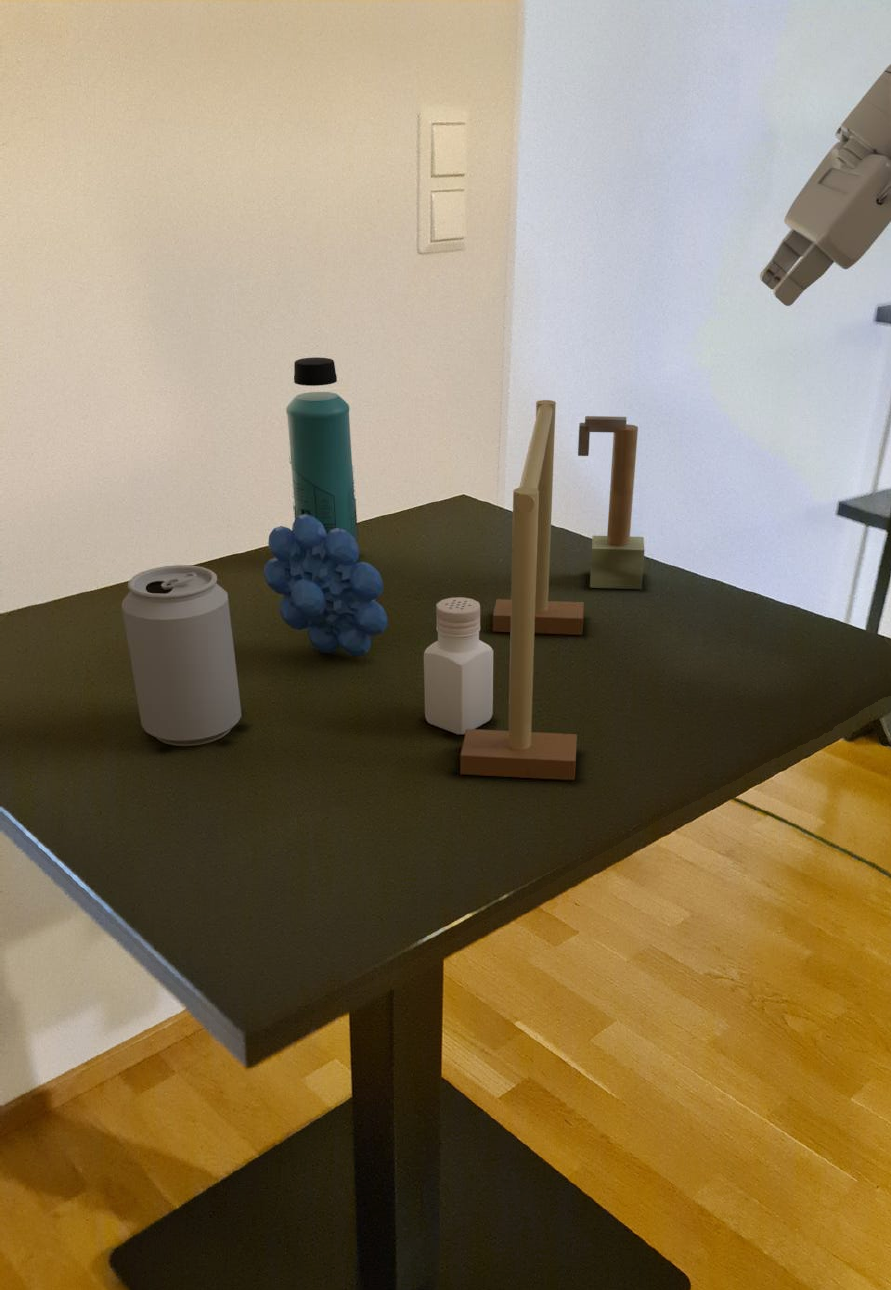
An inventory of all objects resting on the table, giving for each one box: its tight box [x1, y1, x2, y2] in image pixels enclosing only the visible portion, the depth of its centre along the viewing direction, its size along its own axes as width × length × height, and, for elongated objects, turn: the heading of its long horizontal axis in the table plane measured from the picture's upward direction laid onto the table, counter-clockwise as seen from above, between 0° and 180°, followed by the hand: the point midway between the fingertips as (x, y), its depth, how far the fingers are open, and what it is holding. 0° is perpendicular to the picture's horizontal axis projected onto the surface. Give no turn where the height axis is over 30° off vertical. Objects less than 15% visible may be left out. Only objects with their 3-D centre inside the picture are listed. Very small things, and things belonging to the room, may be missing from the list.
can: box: [121, 564, 243, 747], centre depth 83 cm, size 8×8×12 cm
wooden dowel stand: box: [459, 399, 585, 781], centre depth 87 cm, size 8×30×20 cm, turn 173°
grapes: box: [263, 514, 388, 657], centre depth 94 cm, size 12×7×12 cm, turn 64°
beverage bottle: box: [285, 356, 359, 542], centre depth 114 cm, size 6×7×20 cm
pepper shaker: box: [423, 596, 494, 735], centre depth 84 cm, size 4×4×10 cm
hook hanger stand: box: [577, 415, 646, 590], centre depth 108 cm, size 7×4×16 cm, turn 83°
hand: (772, 292), depth 98 cm, fingers open, 8 cm apart
